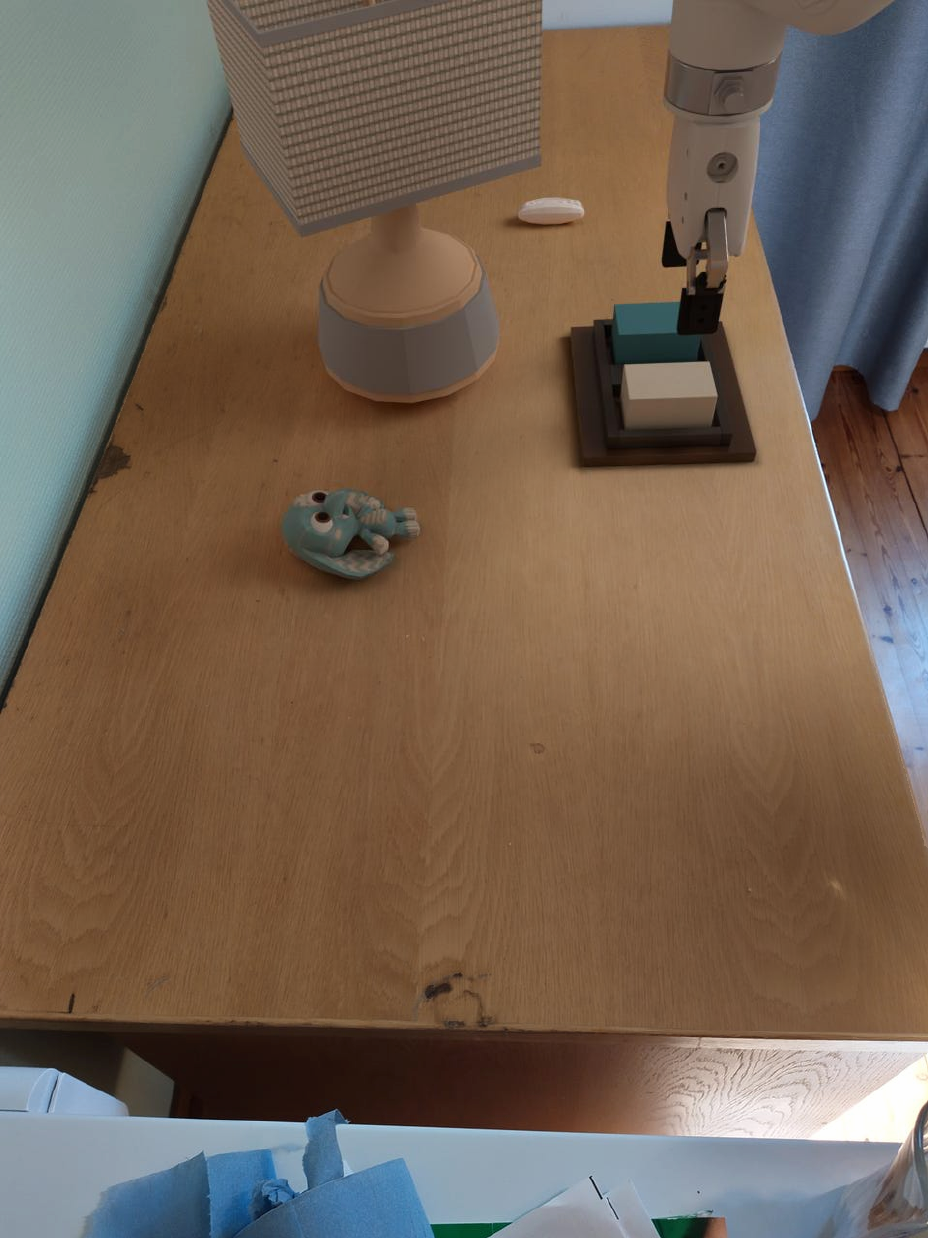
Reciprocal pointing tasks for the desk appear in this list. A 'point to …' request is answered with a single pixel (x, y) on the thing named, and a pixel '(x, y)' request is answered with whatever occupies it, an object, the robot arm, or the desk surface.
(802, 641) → the desk surface
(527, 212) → the white soap bar
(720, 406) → the back plate
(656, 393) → the cream pad
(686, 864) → the desk surface
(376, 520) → the stuffed animal
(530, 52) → the desk lamp
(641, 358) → the teal pad
